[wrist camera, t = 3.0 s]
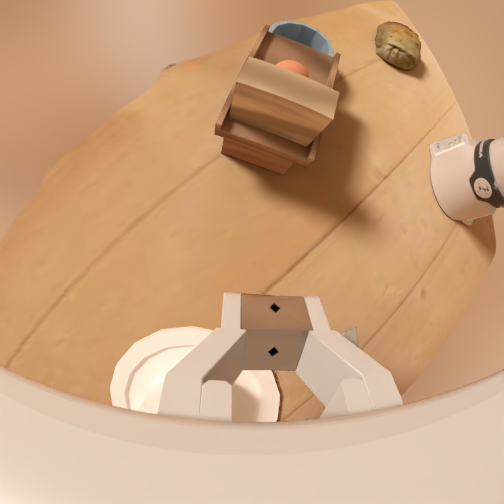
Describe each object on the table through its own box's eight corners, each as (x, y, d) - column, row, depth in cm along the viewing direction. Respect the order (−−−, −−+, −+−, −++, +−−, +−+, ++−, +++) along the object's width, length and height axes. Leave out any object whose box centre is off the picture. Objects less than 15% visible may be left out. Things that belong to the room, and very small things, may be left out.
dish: (94, 333, 33) (58, 360, 21) (269, 314, 37) (295, 337, 26) (139, 463, 33) (128, 506, 22) (283, 448, 37) (304, 490, 26)
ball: (287, 70, 28) (297, 49, 24) (309, 95, 28) (322, 75, 24) (258, 81, 27) (266, 59, 23) (281, 107, 28) (292, 87, 23)
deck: (286, 183, 37) (314, 159, 27) (212, 157, 35) (215, 123, 25) (314, 89, 38) (340, 54, 28) (252, 66, 37) (265, 24, 27)
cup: (293, 39, 38) (304, 17, 32) (329, 77, 39) (345, 56, 32) (247, 53, 36) (254, 28, 30) (284, 95, 37) (297, 71, 31)
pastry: (392, 31, 43) (408, 14, 35) (422, 69, 44) (442, 54, 36) (356, 32, 41) (373, 11, 33) (391, 74, 42) (412, 55, 34)
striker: (306, 146, 28) (333, 119, 21) (228, 118, 27) (236, 81, 20) (313, 122, 28) (339, 92, 21) (239, 94, 27) (249, 56, 20)
